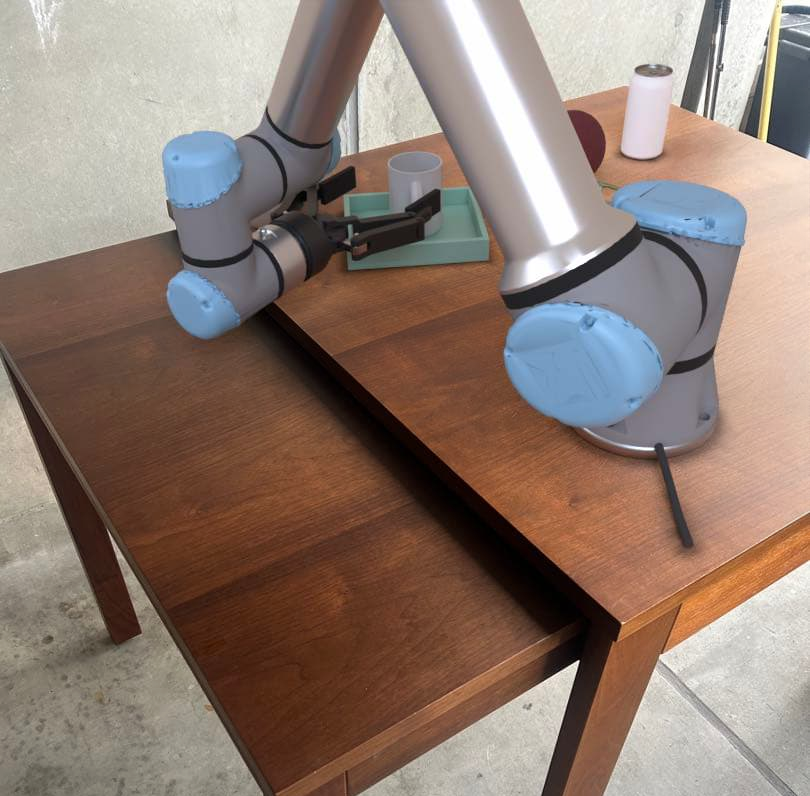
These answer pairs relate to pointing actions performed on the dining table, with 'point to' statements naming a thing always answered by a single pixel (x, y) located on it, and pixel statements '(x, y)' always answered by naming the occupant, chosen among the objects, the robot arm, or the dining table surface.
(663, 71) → the can
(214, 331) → the robot arm
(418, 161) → the cup
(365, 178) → the dining table surface
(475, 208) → the tray
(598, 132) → the decorative ball
